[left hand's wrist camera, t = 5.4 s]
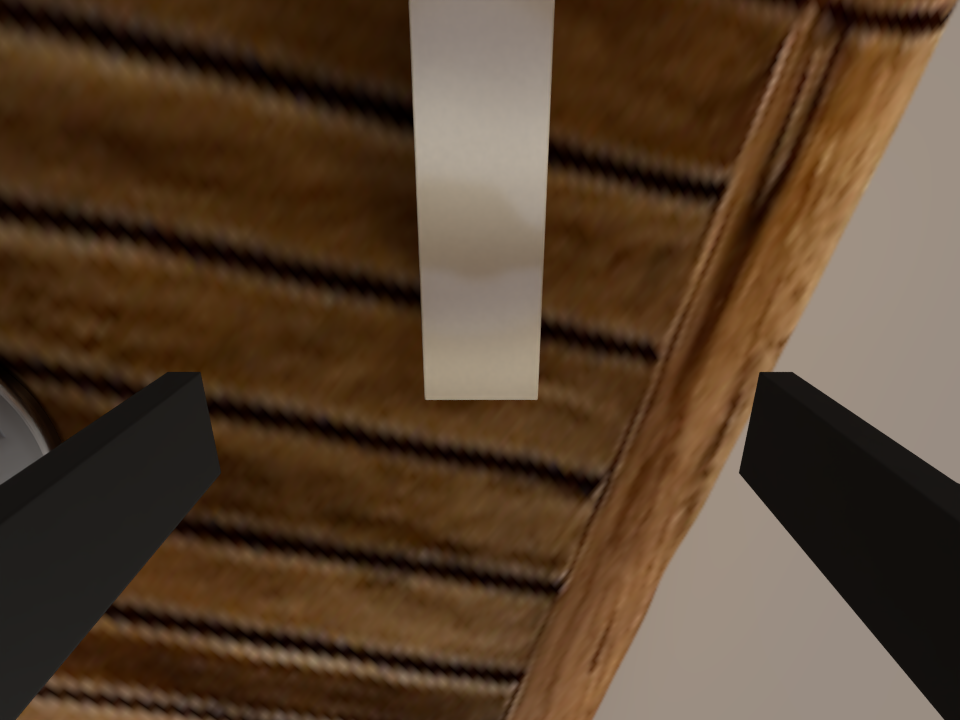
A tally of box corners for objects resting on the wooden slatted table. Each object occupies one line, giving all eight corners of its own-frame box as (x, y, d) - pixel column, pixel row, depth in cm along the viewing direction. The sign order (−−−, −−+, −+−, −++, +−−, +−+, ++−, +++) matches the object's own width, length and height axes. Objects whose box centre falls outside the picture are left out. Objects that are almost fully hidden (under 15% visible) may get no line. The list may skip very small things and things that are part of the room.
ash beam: (522, 337, 28) (537, 400, 21) (438, 337, 28) (424, 400, 21) (542, -341, 19) (583, -664, 12) (419, -341, 19) (380, -664, 12)
